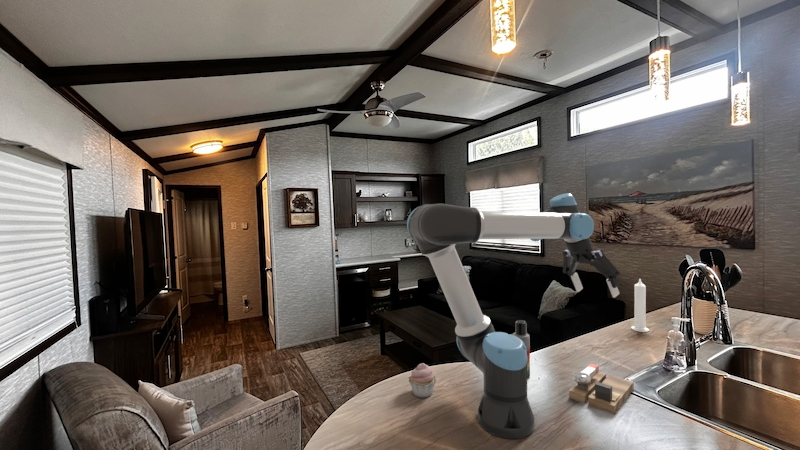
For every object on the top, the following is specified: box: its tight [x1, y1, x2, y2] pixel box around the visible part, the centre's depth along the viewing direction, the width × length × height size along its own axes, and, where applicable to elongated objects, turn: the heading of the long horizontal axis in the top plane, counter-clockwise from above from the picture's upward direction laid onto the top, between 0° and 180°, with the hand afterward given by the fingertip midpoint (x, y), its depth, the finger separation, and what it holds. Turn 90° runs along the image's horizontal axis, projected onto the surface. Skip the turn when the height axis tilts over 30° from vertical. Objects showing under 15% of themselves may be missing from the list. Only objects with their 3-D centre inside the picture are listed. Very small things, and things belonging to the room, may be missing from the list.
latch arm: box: [574, 363, 600, 385], centre depth 112 cm, size 13×4×2 cm, turn 133°
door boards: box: [568, 371, 635, 415], centre depth 110 cm, size 20×12×6 cm, turn 133°
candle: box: [631, 278, 650, 333], centre depth 167 cm, size 7×7×25 cm
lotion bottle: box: [512, 319, 531, 380], centre depth 123 cm, size 6×6×20 cm
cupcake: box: [408, 362, 438, 399], centre depth 113 cm, size 9×9×10 cm
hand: (597, 292), depth 120 cm, fingers open, 13 cm apart
